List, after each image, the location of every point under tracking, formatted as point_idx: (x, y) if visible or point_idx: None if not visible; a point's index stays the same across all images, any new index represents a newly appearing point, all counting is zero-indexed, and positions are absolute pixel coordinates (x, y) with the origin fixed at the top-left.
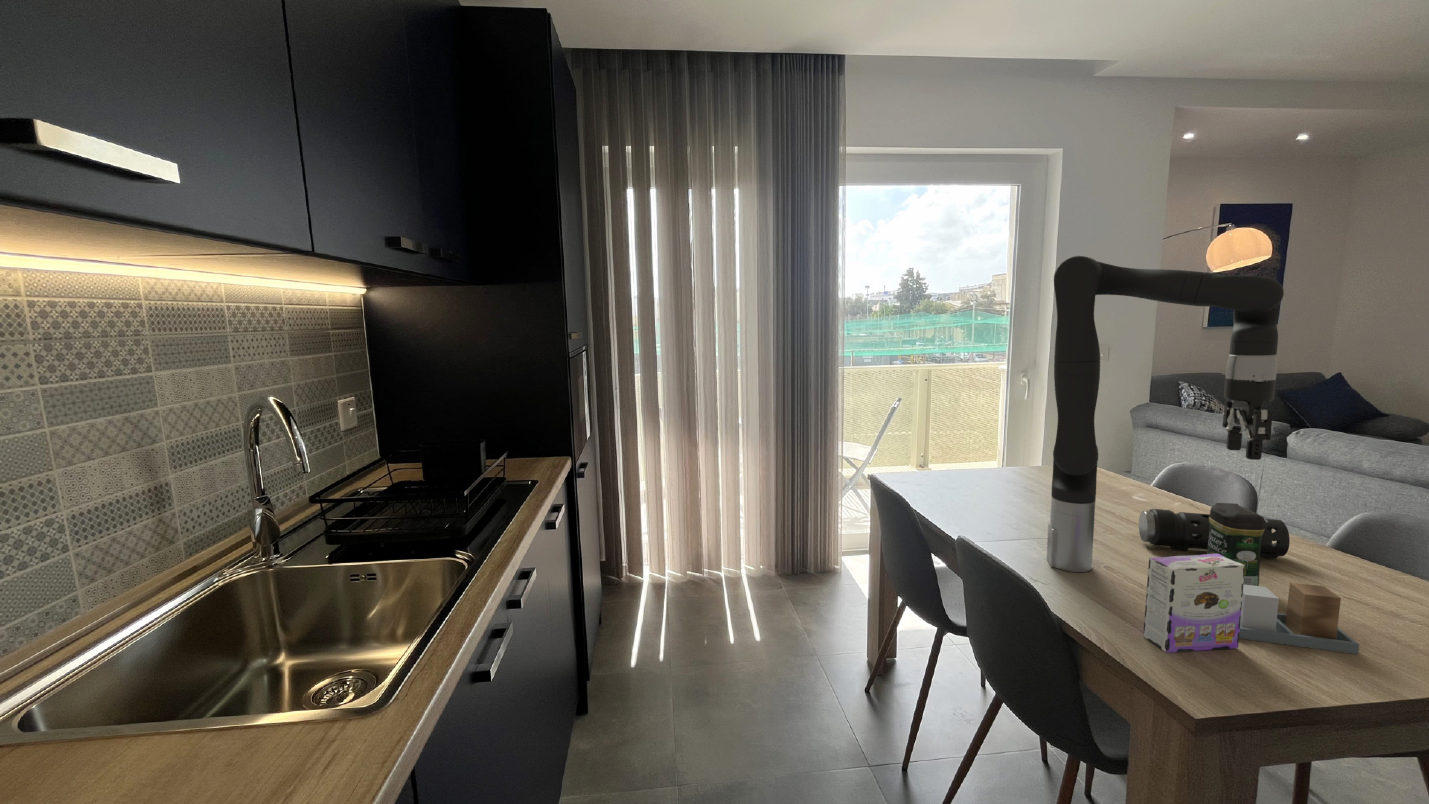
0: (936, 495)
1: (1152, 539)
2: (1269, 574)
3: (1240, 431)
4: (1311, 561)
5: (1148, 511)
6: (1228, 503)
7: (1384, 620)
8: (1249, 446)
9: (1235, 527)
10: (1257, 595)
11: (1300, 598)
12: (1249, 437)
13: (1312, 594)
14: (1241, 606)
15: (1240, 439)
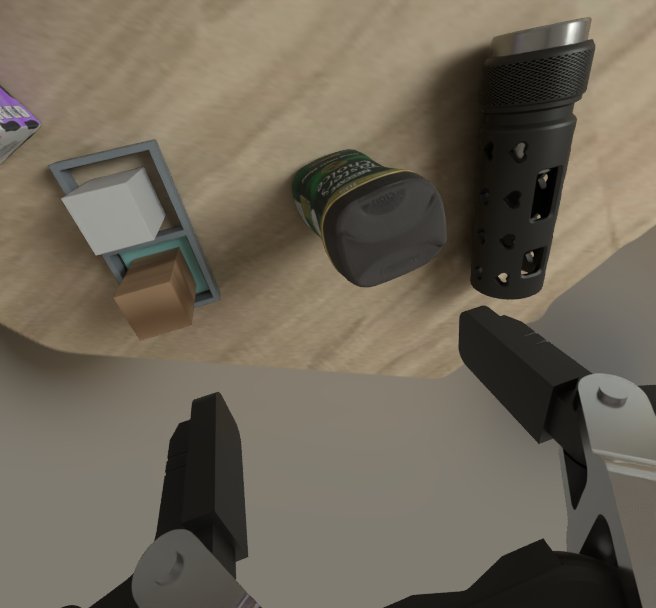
0: None
1: (491, 54)
2: None
3: (560, 447)
4: (480, 300)
5: (574, 33)
6: (437, 225)
7: (297, 346)
8: (188, 481)
9: (325, 222)
10: (77, 221)
11: (130, 286)
12: (152, 579)
13: (122, 307)
14: (83, 188)
15: (505, 402)
